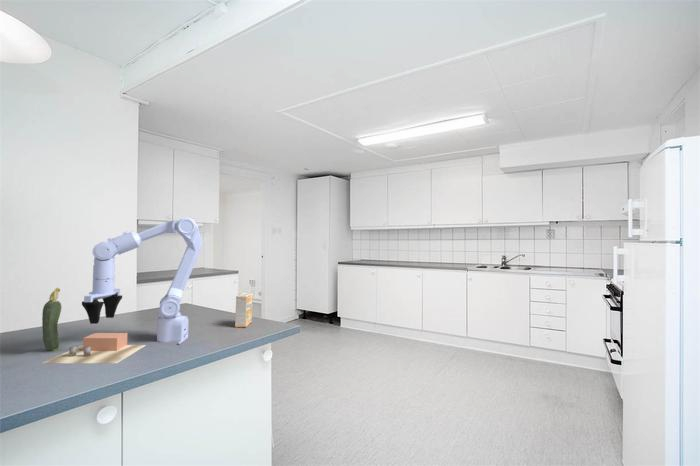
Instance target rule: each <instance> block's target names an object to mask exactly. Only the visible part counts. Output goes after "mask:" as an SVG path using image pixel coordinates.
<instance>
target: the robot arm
mask: <svg viewBox="0 0 700 466" xmlns="http://www.w3.org/2000/svg"><path fill="white" fill-rule="evenodd" d="M176 232H177V233H178V235H180V236H182V237H181V238H183V240H184V241H185V243H186V245H187V247H186V249H185V250H184V253H183V256H182V258H181V261H180V263H179V265H178V267H177V270H176V272H175V275H174V276H173V280H172V282H171V284H170V286H169V289H168V290H167V292H166V294H165V295H164V296H163V297H162V298H161V299H160V302H159V313H158V314H157V323H156V325H157V330H156V331H157V332H156V341H157V342H159V343H169V342H170V343H171V342H177V343H176V345H180V344H182V343H184V342H185V341H186V340H187V339H188V338H189V317H188V316H187V315H182V312H180V309H181V304H180V303H181V300H182V297H183V294H184V291H185V289H186V286H187V283H188V281H189V279H190V276H191V274H192V272H193V269H194V267H195V264H196V262H197V260H198V257H199V255H200V252H201V250H202V248H203V240H202V237H201V233H200V228H199V226H198V224H197V223H196V221H195V220H194V219H193V218H190V217H186V216H185V217H182V218H179V219H174V220H169V221H166V222H163V223H161V224H158V225H156V226H153V227H150V228H147V229H145V230H143V231H141V232H138V233H137V232H134V231H129V232H128V231H124V232H122V235H117V236H116V237H113V238H111V237H109V238H107V241H99V243H97V244H95V245H94V247H93V248H92V255H93V257H94V259H93V266H92V267H93V268H92V289H91V291H89V292H88V294H87V295H84V296H83V301H81V306H82V307H83V308H84V310H85V311H86V313H87V316H88V317H87V318H88V320H89V323H90V324H91V325H93V324H95V325H97V324H99V322H100V318H101V312H102V307H103V306H104V310H105V311H104V314H105V318H107V319H108V318H109V319H113V318H114V317H115V314H116V311H117V308H118V306H119V303H120V302H121V300H122V299H123V295H122V294H121V288H115V278H116V277H115V276H116V275H115V272H116V270H115V269H116V264H115V256H116V255H120V256H121V254H122V255H123V254H125V253H127V252H130V251H132V250H135V249H137V248H140V247H141V245H142V243H143V242H144V241H147V240H149V239H152V238H155V237H157V236H161V235H164V234H167V233H168V234H176ZM120 294H121V295H120ZM101 299H102V301H100V300H101Z"/></svg>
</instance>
